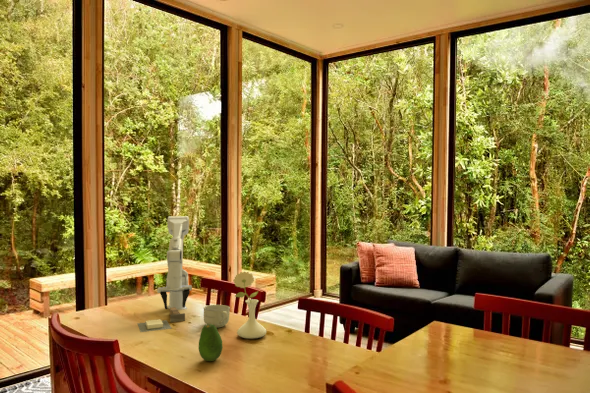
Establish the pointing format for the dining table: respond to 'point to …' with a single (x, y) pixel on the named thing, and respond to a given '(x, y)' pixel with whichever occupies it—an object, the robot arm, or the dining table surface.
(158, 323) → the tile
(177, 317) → the hammer
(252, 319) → the flower in vase
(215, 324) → the teacup
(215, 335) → the fruit
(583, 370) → the dining table surface
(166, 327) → the mat
